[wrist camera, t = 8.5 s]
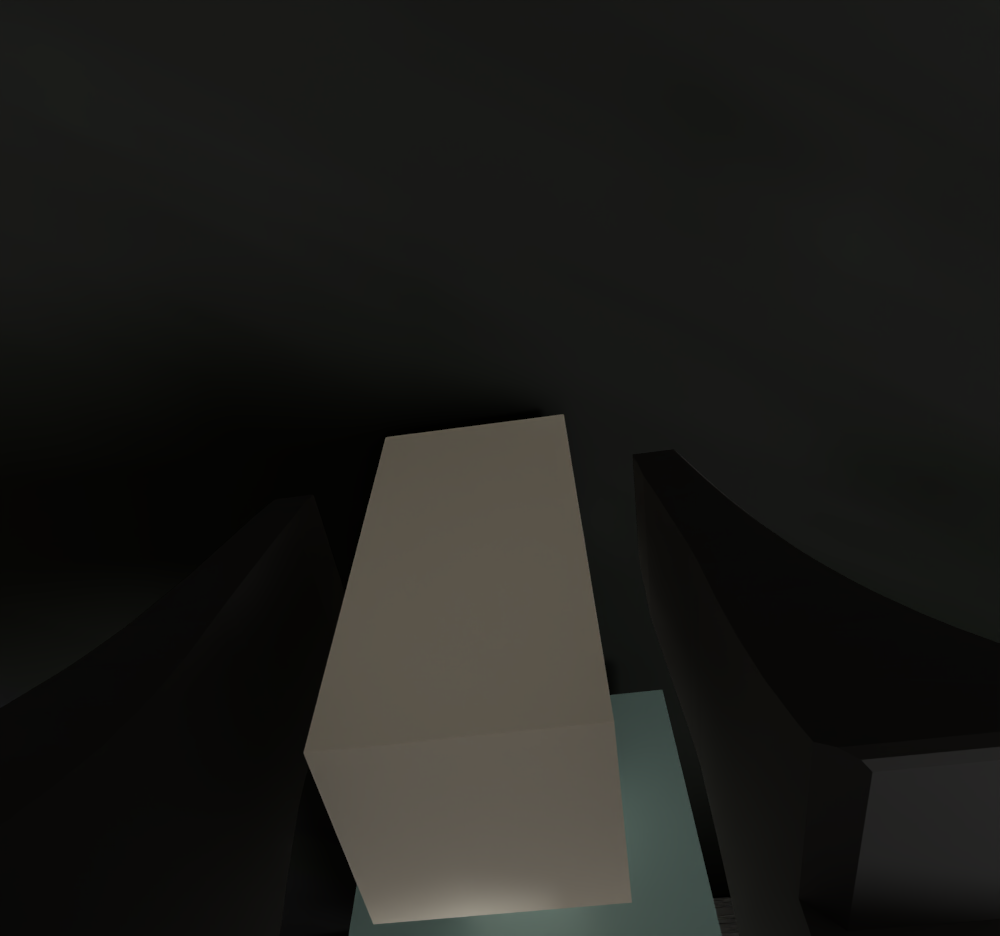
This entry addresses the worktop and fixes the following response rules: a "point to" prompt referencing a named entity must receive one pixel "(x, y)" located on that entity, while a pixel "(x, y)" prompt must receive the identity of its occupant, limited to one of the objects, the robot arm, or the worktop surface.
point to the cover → (494, 713)
